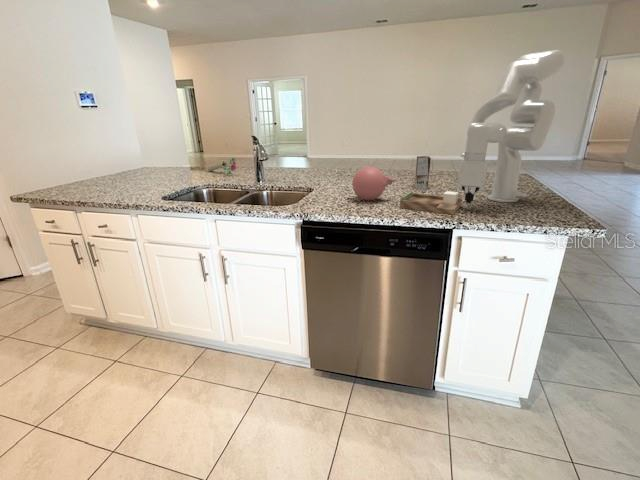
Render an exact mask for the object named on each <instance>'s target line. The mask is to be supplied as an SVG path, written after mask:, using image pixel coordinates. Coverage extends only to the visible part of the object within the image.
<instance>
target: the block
mask: <svg viewBox="0 0 640 480" xmlns="http://www.w3.org/2000/svg"><path fill="white" fill-rule="evenodd" d="M459 193H460V192H459V191H449V190H446V191H445V192H444V193H443V203H448V204H456V203H457V201H458V198H459Z"/></svg>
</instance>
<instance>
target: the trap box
mask: <svg viewBox="0 0 640 480" xmlns="http://www.w3.org/2000/svg"><path fill="white" fill-rule="evenodd" d="M443 196H444V195H443ZM443 196H442V195H433V194H422V193H413V190H411V191H409V192H407V193H406V194H404V195H403V196H401V197H400V201H399V209H405V210H414V211H420V212H421V211H422V212H430V213H435V214H436V213H438V214H444V215H445V214H446V215H452V216H454V215H455V214H456V212H458V210H459V209H460V208H461V206H462V199H463V198H462V197H458V201H457V203H456V204H448V203H443Z"/></svg>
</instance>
